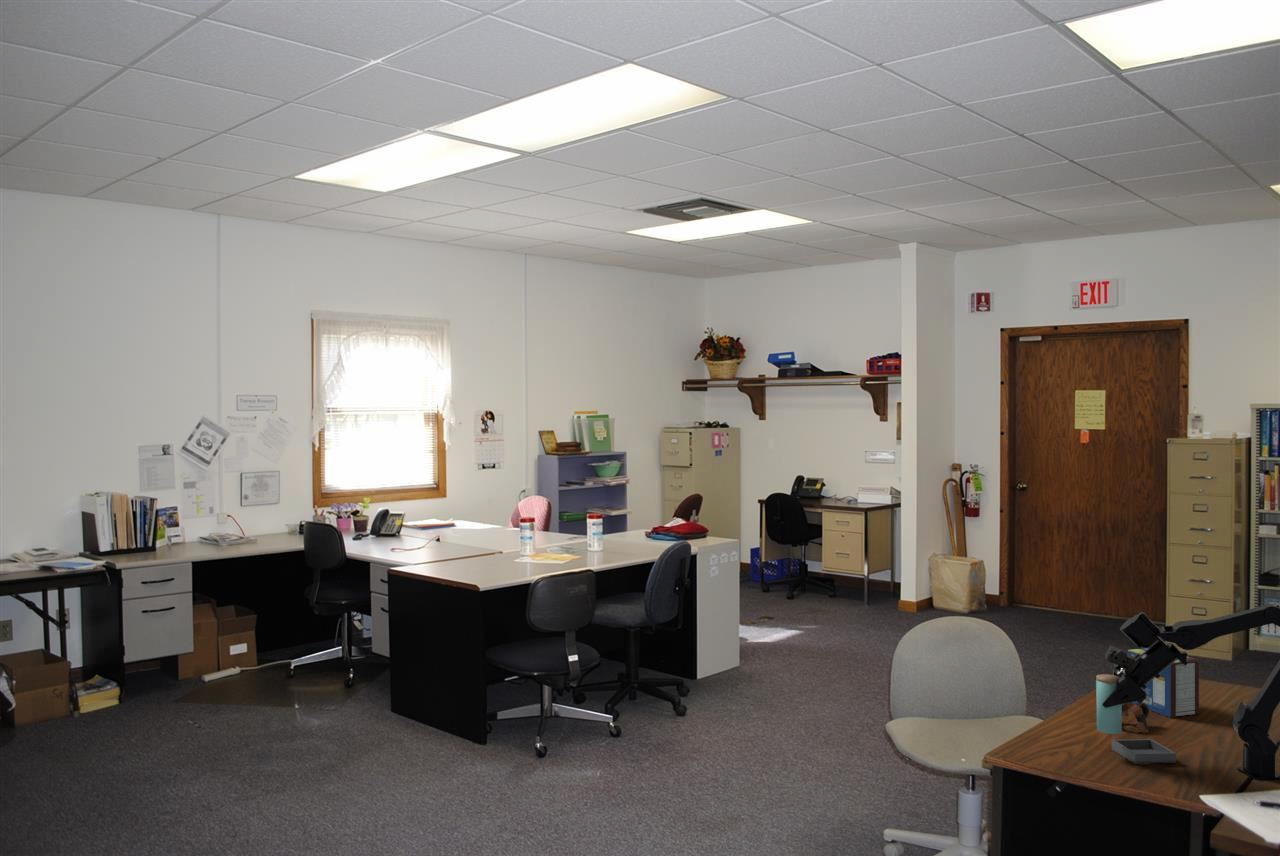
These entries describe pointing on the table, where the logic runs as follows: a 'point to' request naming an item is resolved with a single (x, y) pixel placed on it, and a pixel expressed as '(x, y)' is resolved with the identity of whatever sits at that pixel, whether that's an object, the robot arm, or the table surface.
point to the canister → (1111, 716)
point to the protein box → (1174, 688)
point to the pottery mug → (1137, 713)
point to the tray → (1143, 751)
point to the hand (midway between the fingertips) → (1102, 702)
